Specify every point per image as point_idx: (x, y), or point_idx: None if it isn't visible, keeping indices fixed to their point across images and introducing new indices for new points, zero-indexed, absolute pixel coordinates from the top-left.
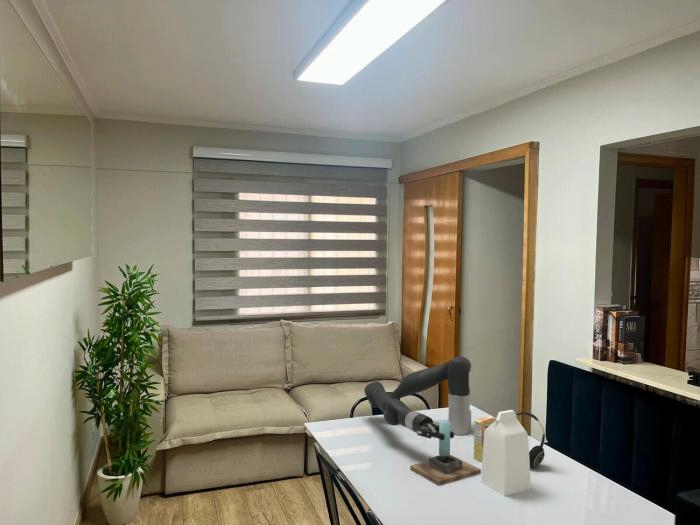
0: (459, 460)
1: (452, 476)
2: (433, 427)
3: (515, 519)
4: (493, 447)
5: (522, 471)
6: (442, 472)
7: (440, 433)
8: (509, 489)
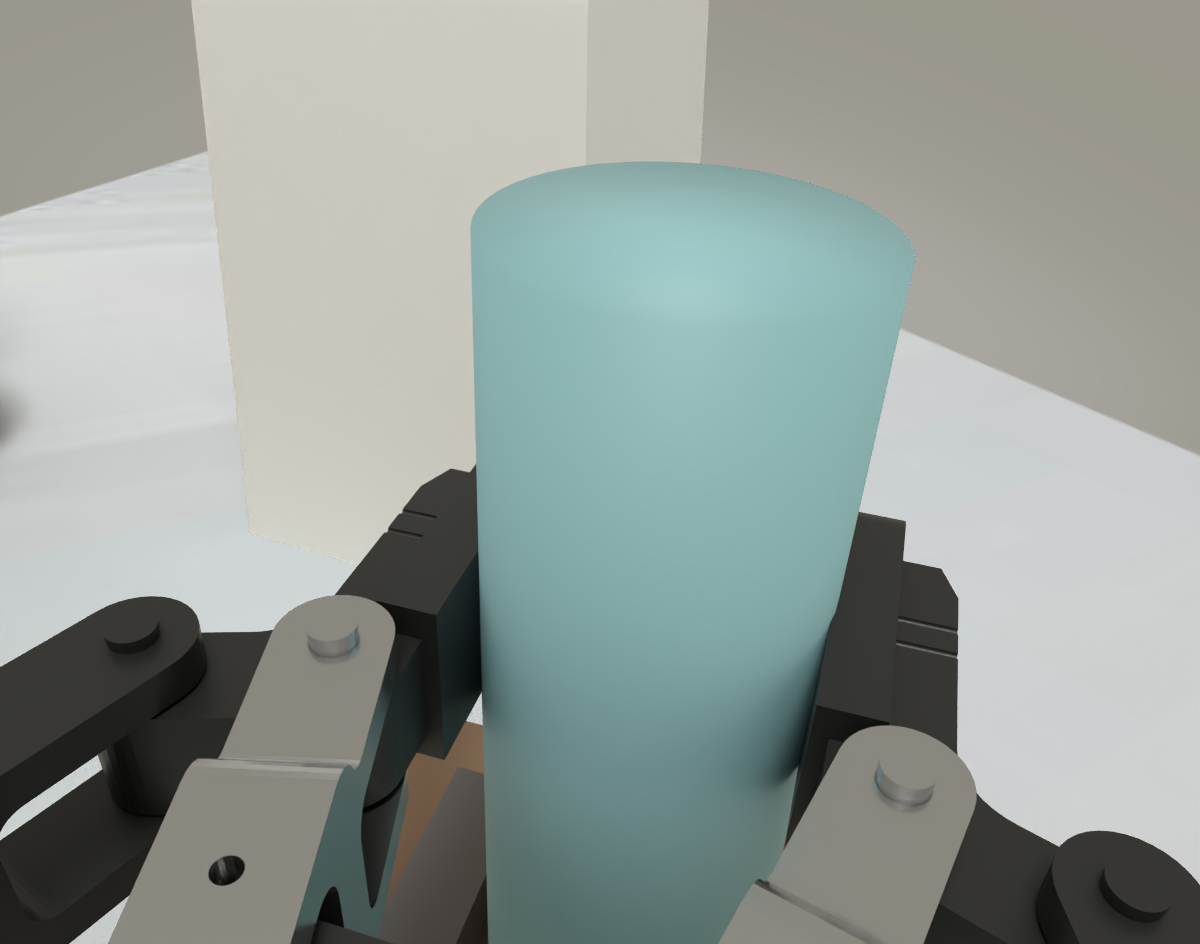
0: (468, 803)
1: None
2: (736, 918)
3: (929, 341)
4: (650, 113)
5: None
6: None
7: (888, 578)
8: None
